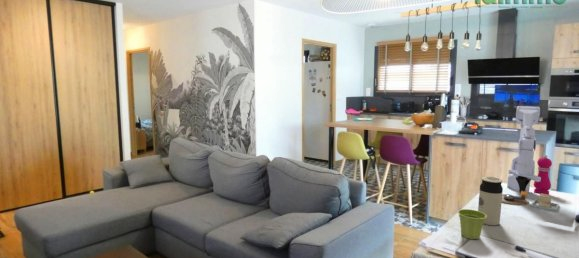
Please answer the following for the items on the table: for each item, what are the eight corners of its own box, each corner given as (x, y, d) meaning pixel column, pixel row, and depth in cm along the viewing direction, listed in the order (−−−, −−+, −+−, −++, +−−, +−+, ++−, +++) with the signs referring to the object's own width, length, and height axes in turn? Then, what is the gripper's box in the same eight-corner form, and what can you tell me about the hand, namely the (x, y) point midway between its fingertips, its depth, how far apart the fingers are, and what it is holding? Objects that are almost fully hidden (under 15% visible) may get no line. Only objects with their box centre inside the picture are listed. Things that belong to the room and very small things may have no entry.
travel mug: (496, 219, 149) (500, 177, 147) (502, 227, 141) (506, 182, 139) (475, 217, 151) (478, 175, 149) (479, 224, 144) (483, 180, 141)
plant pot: (460, 228, 140) (461, 207, 138) (487, 235, 134) (489, 213, 133) (453, 236, 132) (454, 214, 131) (481, 244, 127) (483, 220, 125)
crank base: (493, 194, 181) (493, 191, 181) (531, 202, 171) (531, 198, 170) (485, 203, 169) (485, 199, 169) (525, 211, 159) (526, 207, 158)
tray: (533, 204, 167) (534, 199, 167) (558, 209, 161) (559, 203, 161) (530, 209, 160) (531, 204, 160) (556, 215, 154) (557, 209, 154)
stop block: (539, 206, 164) (540, 193, 163) (550, 208, 161) (551, 195, 160) (538, 208, 161) (539, 195, 160) (549, 210, 158) (550, 197, 157)
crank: (524, 199, 169) (525, 189, 169) (527, 201, 166) (528, 192, 165) (502, 197, 172) (503, 188, 171) (505, 199, 168) (506, 190, 168)
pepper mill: (529, 192, 185) (533, 154, 183) (538, 190, 188) (542, 152, 186) (544, 196, 179) (548, 156, 176) (553, 194, 182) (557, 155, 179)
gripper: (504, 161, 173) (502, 188, 175) (533, 168, 159) (530, 198, 161) (515, 160, 175) (513, 187, 177) (545, 167, 161) (542, 196, 163)
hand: (522, 192), depth 169 cm, fingers closed, pressing on crank
